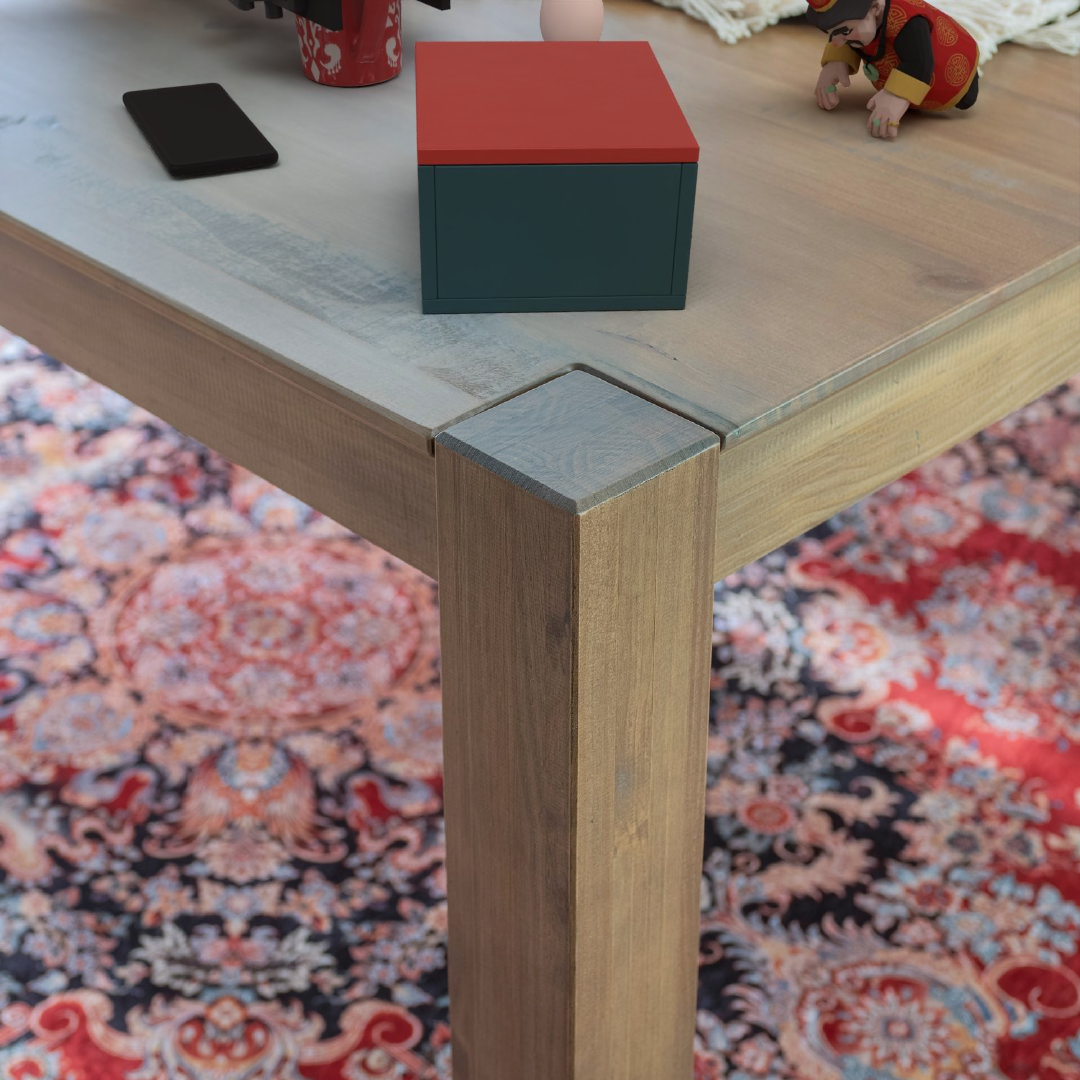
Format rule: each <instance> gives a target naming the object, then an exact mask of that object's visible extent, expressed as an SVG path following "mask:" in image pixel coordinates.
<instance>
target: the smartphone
mask: <svg viewBox="0 0 1080 1080" xmlns="http://www.w3.org/2000/svg"><path fill="white" fill-rule="evenodd" d="M121 99H122V103H123V105H124V106H125V108H126V109H127V111H128V112H129V114H130V115H131V117H132V118H133V120H134V122H135V123H136V125H137V126H138V128H139V129H140V131H141V132H142V134H143V135H144V137H145V138H146V140H147V141H148V143H149V145H150V146H151V147H152V149H153V150H154V152H155V154H156V155H157V156H158V158H159V160H160V161H161V163H162V164H163V165H164V167H165V169H167V171H168V173H169V174H170V175H171V176H173V177H178V178H179V177H180V178H181V177H189V176H197V175H204V174H205V175H206V174H212V173H219V172H228V171H236V170H242V169H252V168H259V167H267V166H273V165H275V164H277V162H278V161H279V158H280V157H279V153H278V151H277V150H276V148H275V147H274V146H273V145H272V143H271V142H270V141H269V140H268V139H267V138H266V136H265V135H264V134H263V132H262V131H260V129H259V128H258V127H257V125H256V124H255V123H254V122H253V121H252V120H251V119H250V117H249V116H248V115H247V114H246V112H244V111H243V110H242V108H241V107H240V105H238V103H237V102H236V101H235V100H234V99H233V97H232V96H231V95H230V94H229V93H228V92H227V91H226V89H225V88H224V87H223V86H222V85H221V84H220V83H218V82H207V83H206V82H205V83H196V84H187V85H178V86H177V85H176V86H167V87H158V88H148V89H147V88H146V89H139V90H138V89H137V90H131V91H130V90H129V91H126V92H124V93H123V95H122V98H121Z"/></svg>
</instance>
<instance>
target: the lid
mask: <svg viewBox="0 0 1080 1080" xmlns="http://www.w3.org/2000/svg"><path fill="white" fill-rule="evenodd" d="M414 68H415V69H414V71H415V75H414V76H415V79H414V80H415V122H416V123H415V124H416V125H415V126H416V127H415V128H416V163H418V164H419V165H442V164H552V163H662V162H697V163H698V162H699V159H700V149H701V147H700V145H699V143H698V141H697V139H696V137H695V134H694V132H693V130H692V128H691V126H690V124H689V122H688V120H687V119H686V116H685V115H684V112H683V110H682V108H681V106H680V104H679V101H678V100H677V98H676V96H675V93H674V92H673V90H672V88H671V85H670V84H669V82H668V80H667V77H666V75H665V73H664V71H663V69H662V67H661V65H660V62H659V61H658V58H657V56H656V55H655V53H654V50H653V48H652V47H651V45H650V42H649V41H648V40H599V41H544V40H537V41H536V40H527V41H526V40H523V41H522V40H521V41H519V40H515V41H512V40H511V41H510V40H508V41H507V40H506V41H505V40H503V41H502V40H501V41H499V40H498V41H496V40H494V41H490V40H489V41H488V40H486V41H484V40H483V41H482V40H481V41H476V40H473V41H461V40H460V41H458V40H457V41H451V40H450V41H449V40H447V41H445V40H443V41H414Z"/></svg>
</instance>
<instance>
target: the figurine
mask: <svg viewBox="0 0 1080 1080" xmlns="http://www.w3.org/2000/svg"><path fill="white" fill-rule="evenodd" d="M805 2H806V3H807V4H808V5H807V7H806V11H805V18H806V20H807V21H808V23H810V24H811V25H813V26H815V27H816V28H817V29H819V30H820V31H821V32H823V33H824V34H826V35H829V37H828V42H827V43H826V44H825V46H824V49H823V54H822V56H821V59H820V66H821V68H822V69H821V71H820V72H819V76H818V79H817V82H816V86H815V89H814V96H815V99H816V103H817V105H819V107H820V108H821V109H826V110H827V111H830V110H831V109H834V108H836V105H838V104H839V103H840V100H839V97H838V94H837V92H838V90H837V89H838V88H837V84H839V83H840V86H841V87H843V88H844V89H845V88H850V86H851V80H850V76H854V75H857V74H858V73H859V71H860V66H861V62H862V64H863V65H862V66H861V67H862V71H863V75H864V76H865V77H866V78H867V79H868V80H869V81H870V83H871V85H872V86H873V88H874V89H875V90H876V91H877V93H876V94H874V95H873V96H872V97H871V99H869V100H868V102H867V104H866V109H868V110H870V111H872V112H871V113H870V116H869V117H868V118H869V119H868V121H867V125H866V126H867V127H866V128H867V130H869V131H872V132H871V135H872V137H876V138H878V137H881V138H883V139H884V138H887V137H890V138H892V139H893V138H895V137H896V136H897V135H898V128H899V126H900V122H899V121H900V120H901V118H902V117H903V115H904V114H905V112H907V110H908V108H909V109H913V110H920V111H927V112H944V111H946V110H949V109H952V108H953V107H954V108H956V109H959V110H960V111H966V110H968V109H970V108H971V107H973V106H974V105H975V104H976V102H977V101H978V100H977V99H978V95H979V92H980V91H979V89H980V87H979V80H980V75H979V69H978V67H979V62H980V55H981V52H980V48H979V44H978V42H977V41H976V39H975V38H974V37H973V36H972V35H971V34H970V32H969V31H968V30H967V29H966V28H965V27H963V26H962V25H961V23H959V22H958V21H956V19H955V18H953V17H952V16H951V15H949V14H948V13H945V12H944V11H942V10H941V9H939V8H937V7H936V6H934V5H932V4H930V3H929V2H927V1H925V0H805Z"/></svg>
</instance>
